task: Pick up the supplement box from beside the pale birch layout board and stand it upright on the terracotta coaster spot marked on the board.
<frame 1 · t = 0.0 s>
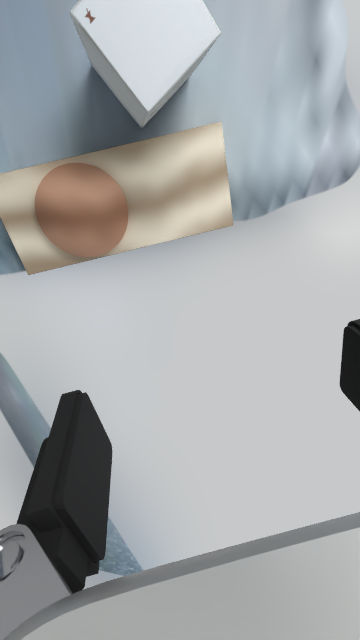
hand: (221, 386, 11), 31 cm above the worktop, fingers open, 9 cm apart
supplement box: (142, 71, 31), on the worktop
layout board: (118, 201, 36), on the worktop
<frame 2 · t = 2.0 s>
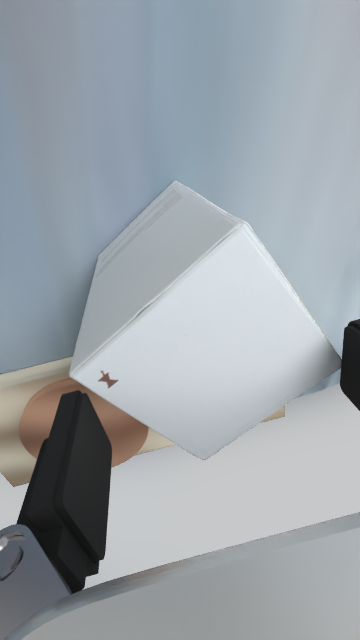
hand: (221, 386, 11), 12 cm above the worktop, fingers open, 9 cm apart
supplement box: (171, 256, 21), on the worktop, touching gripper
layout board: (134, 394, 27), on the worktop
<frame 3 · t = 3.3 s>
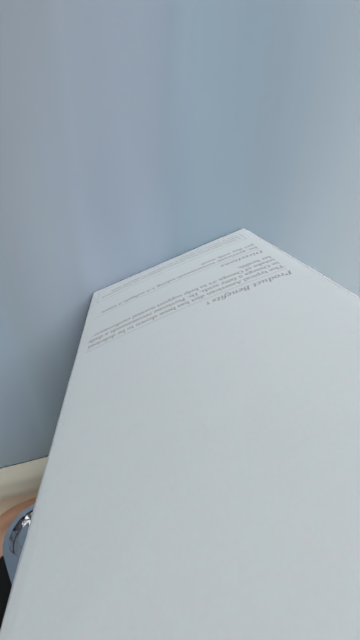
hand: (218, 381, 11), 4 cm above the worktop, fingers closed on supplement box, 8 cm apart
supplement box: (196, 323, 15), on the worktop, touching gripper
layout board: (140, 493, 20), on the worktop
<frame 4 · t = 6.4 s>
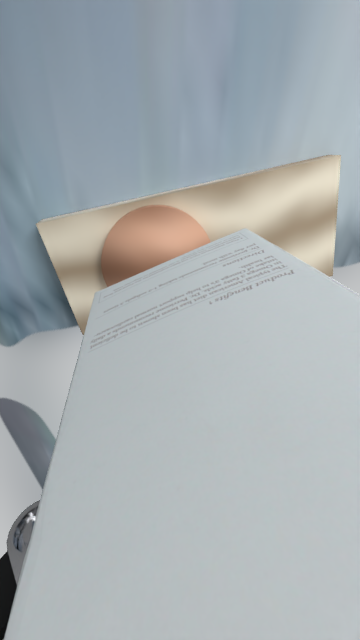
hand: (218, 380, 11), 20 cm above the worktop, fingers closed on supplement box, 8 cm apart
supplement box: (197, 323, 15), point 16 cm above the worktop, touching gripper
layout board: (196, 247, 29), on the worktop
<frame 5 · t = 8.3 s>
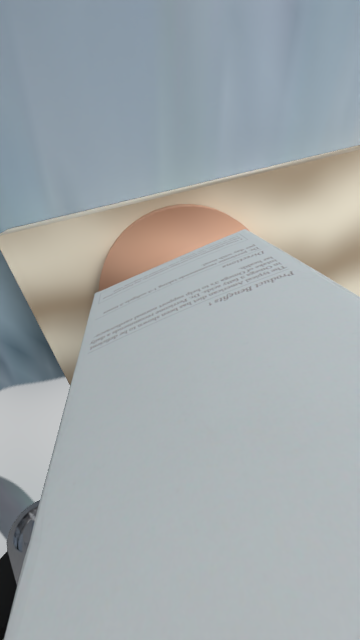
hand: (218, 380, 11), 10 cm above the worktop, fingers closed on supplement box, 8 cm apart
supplement box: (197, 323, 15), point 6 cm above the worktop, touching gripper
layout board: (238, 265, 20), on the worktop
when the fingers open (8 cm above the worktop, at t = 9.4 s): supplement box drops 1 cm, resting on layout board.
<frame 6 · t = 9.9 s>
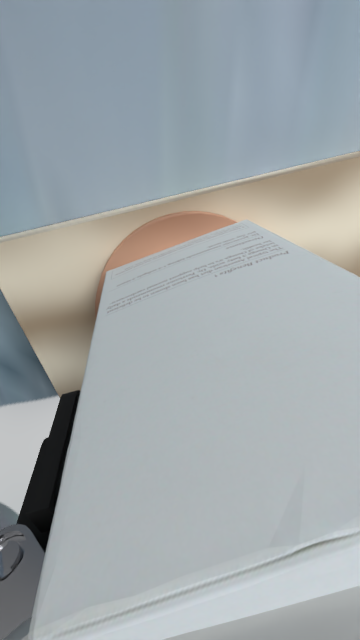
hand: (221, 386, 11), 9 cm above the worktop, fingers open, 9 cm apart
supplement box: (198, 306, 16), point 3 cm above the worktop, touching layout board
layout board: (247, 276, 19), on the worktop
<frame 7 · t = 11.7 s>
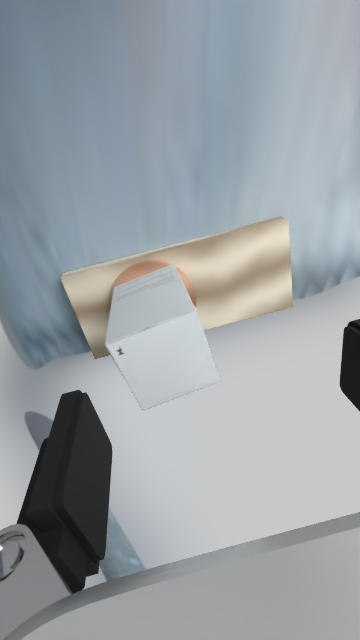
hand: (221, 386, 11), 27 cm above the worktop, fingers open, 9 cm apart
supplement box: (155, 302, 35), point 3 cm above the worktop, touching layout board
layout board: (183, 287, 37), on the worktop
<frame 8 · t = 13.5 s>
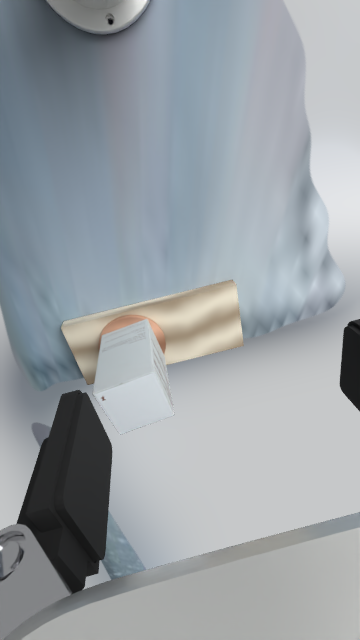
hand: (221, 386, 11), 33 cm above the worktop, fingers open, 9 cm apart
supplement box: (134, 344, 45), point 3 cm above the worktop, touching layout board
layout board: (157, 330, 48), on the worktop
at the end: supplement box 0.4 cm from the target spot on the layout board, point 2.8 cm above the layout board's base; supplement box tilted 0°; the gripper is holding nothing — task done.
